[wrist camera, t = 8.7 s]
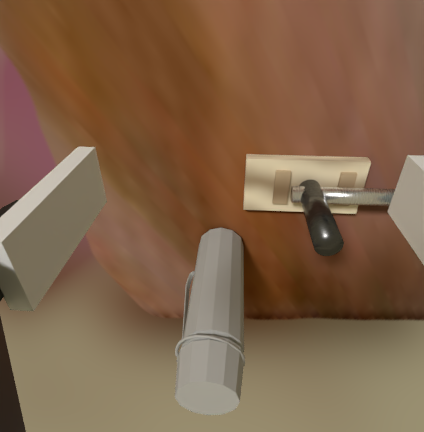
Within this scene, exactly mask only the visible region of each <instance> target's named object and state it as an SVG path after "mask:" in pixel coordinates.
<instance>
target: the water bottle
mask: <svg viewBox="0 0 424 432" xmlns="http://www.w3.org/2000/svg"><path fill="white" fill-rule="evenodd" d="M193 276H194V278H193ZM192 278H193V284H192V290H191V296H190V302H189V307H188V299H189V288H190V284H191V280H192ZM181 343H182V348H181V349H180V352H179V353H178V349H179V346H180V345H181ZM243 352H244V248H243V243H242V240H241V237H240V236H239V235H237V234H236V233H235V232H234V231H233V230H229V229H225V228H216V229H211V230H209V231H208V232H206V233H205V234H204V235H203V236H202V237H201V241H200V244H199V250H198V255H197V261H196V267H195V271H193V272H191V273H190V275H189V277H188V280H187V283H186V290H185V305H184V319H183V335H182V340H180V341H179V342H178V344H177V346H176V348H175V355H176V357H177V374H176V387H175V398H176V400H177V401H178V403H179V404H180V406H182V407H184V408H186V409H188V410H190V411H191V412H195V413H200V414H205V415H218V414H225V413H227V412H230V411H232V410H234V409H236V407H237V405H238V404H239V402H240V395H241V385H242V374H243V366H244V365H245V357H244V354H243Z"/></svg>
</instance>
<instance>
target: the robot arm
mask: <svg viewBox="0 0 424 432" xmlns="http://www.w3.org/2000/svg"><path fill="white" fill-rule="evenodd" d="M106 202H107V200H106V195H105V190H104V186H103V181H102V177H101V172H100V167H99V163H98V158H97V154H96V149H95V147H77V148H76V149H75V150H74V151H73V152H72V153H71V154H70V155H69V156H67V157H66V158H65V159H64V160H63V161H62V162H61V163H60V164H59V165H57V166H56V167H55V168H54V169H53V170H52V171H51V172H50V173H49V174H48V175H47V176H45V177H44V178H43V179H42V180H41V181H40V182H39V183H38V184H37V185H35V186H34V187H33V188H32V189H31V190H30V191H29V192H28V193H27V194H26V195H24V196H23V197H22V198H21V199H20V200H16V201H14V202H12V203H10V204H8V205H6V206H4V207H3V208H1V209H0V301H1V299H2V298H3V297H4V299H5V301H6V303H7V304H8V306H9V308H10V310H20V311H34V310H35V309H36V307H37V306H38V304H39V303H40V301H41V300H42V298H43V297H44V295H45V294H46V292H47V291H48V289H49V288H50V286H51V285H52V283H53V282H54V280H55V279H56V277H57V276H58V274H59V273H60V271H61V270H62V268H63V266H64V265H65V264H66V262H67V261H68V259H69V258H70V256H71V255H72V253H73V252H74V250H75V248H76V247H77V246H78V244H79V243H80V241H81V240H82V238H83V237H84V235H85V234H86V232H87V231H88V229H89V227H90V226H91V224H92V223H93V221H94V220H95V218H96V217H97V215H98V214H99V212H100V211H101V209H102V208H103V206H104V205H105V203H106ZM388 213H389V215H390V216H391V218H392V219H393V221H394V222H395V224H396V225H397V227H398V228H399V230H400V231H401V232H402V234H403V235H404V237H405V238H406V240H407V241H408V243H409V244H410V246H411V247H412V249H413V250H414V252H415V253H416V255H417V256H418V257H419V259H420V260H421V262H422V263H423V265H424V156H412V155H408V156H407V158H406V161H405V164H404V167H403V170H402V172H401V175H400V178H399V181H398V184H397V186H396V189H395V192H394V195H393V198H392V200H391V203H390V206H389V209H388ZM0 432H26V431H25V426H24V422H23V417H22V413H21V408H20V403H19V399H18V394H17V390H16V386H15V381H14V376H13V372H12V368H11V363H10V358H9V354H8V349H7V345H6V340H5V335H4V331H3V326H2V322H1V317H0Z"/></svg>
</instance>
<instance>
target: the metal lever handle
mask: <svg viewBox="0 0 424 432" xmlns="http://www.w3.org/2000/svg"><path fill="white" fill-rule="evenodd" d="M394 192H395V189H373V188H342V187H321V186H320V184H319V183H318V182H317V181H315V180H311V179H309V180H305V181H303V182H302V183H301V184H300V185H299V186H292V187H291V194H290V199H291V202H292V203H301V204H302V208H303V211H304V215H305V218H306V221H307V225H308V228H309V232H310V235H311V239H312V242H313V246H314V249H315V251H316V252H317V253H318V254H320V255H323V256H330V255H334V254H336V253H338V252H339V251H340V250H341V249H342V247H343V244H344V242H343V239H342V237H341V234H340V232H339V229H338V227H337V225H336V222H335V220H334V217H333V215H332V213H331V210H330V208H329V205H328V204H347V205H375V206H390V203H391V200H392V198H393V195H394Z"/></svg>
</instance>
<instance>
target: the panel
mask: <svg viewBox="0 0 424 432" xmlns="http://www.w3.org/2000/svg"><path fill="white" fill-rule="evenodd" d="M370 165H371V161H370V160H369V159H368V157H333V156H296V155H258V154H246V169H245V186H244V203H243V210H267V211H293V212H304V211H303V208H302V204H301V203H292V202H291V199H290V194H291V187H292V186H299V185H300V184H301V183H302V182H303V181H305V180H309V179H311V180H315V181H317V182H318V183H319V184H320V186H321V187H342V188H364V185H365V182H366V178H367V175H368V171H369V168H370ZM328 205H329V208H330V210H331V213H346V214H356V212H357V209H358V205H347V204H328Z"/></svg>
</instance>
